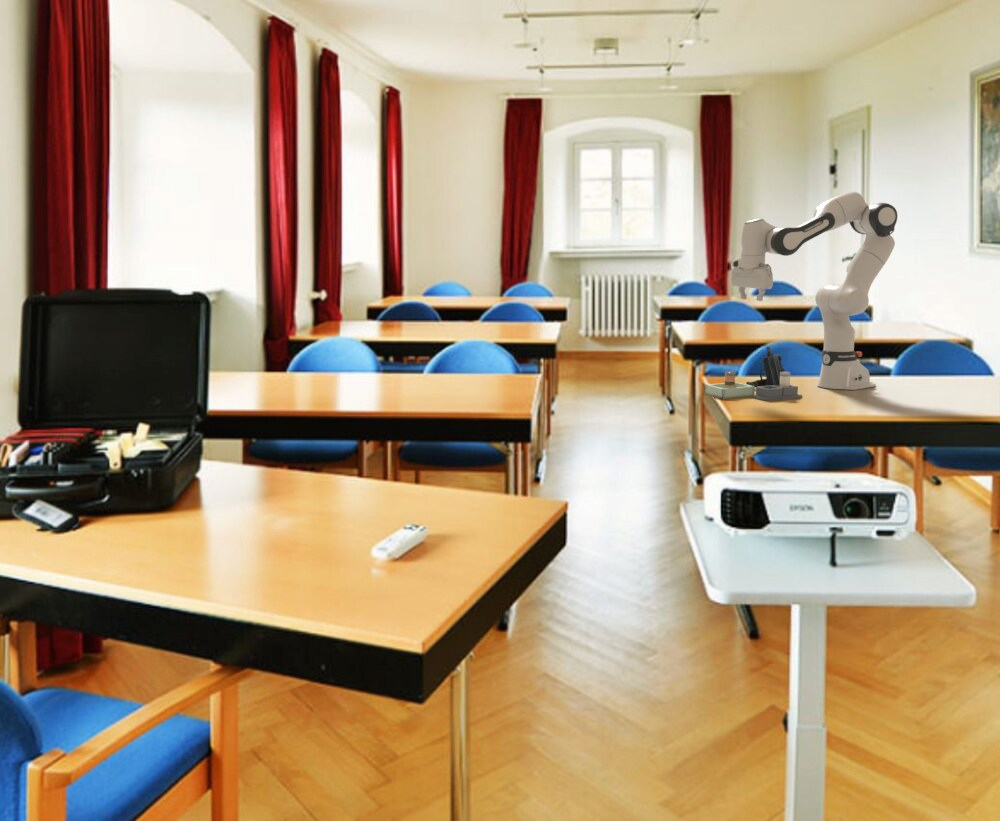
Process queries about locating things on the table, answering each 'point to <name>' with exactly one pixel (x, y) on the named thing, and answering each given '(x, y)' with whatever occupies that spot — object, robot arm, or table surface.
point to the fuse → (784, 379)
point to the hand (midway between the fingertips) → (751, 300)
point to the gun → (770, 370)
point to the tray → (729, 390)
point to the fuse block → (776, 393)
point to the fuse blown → (729, 379)
